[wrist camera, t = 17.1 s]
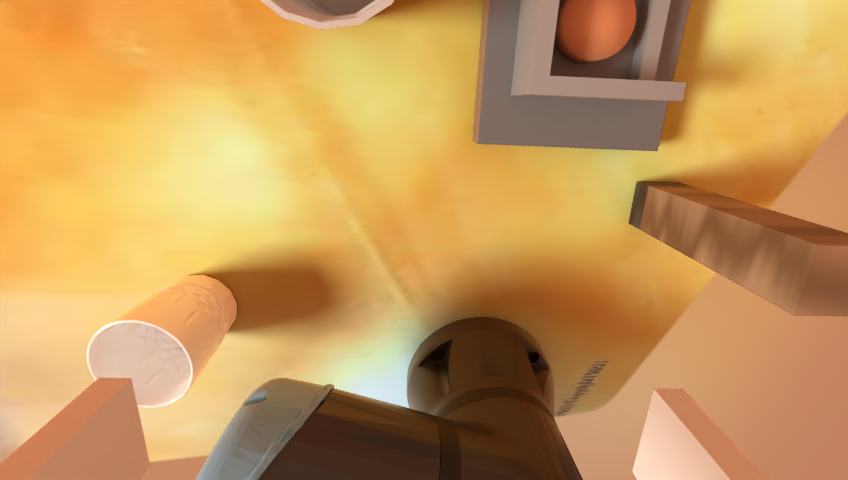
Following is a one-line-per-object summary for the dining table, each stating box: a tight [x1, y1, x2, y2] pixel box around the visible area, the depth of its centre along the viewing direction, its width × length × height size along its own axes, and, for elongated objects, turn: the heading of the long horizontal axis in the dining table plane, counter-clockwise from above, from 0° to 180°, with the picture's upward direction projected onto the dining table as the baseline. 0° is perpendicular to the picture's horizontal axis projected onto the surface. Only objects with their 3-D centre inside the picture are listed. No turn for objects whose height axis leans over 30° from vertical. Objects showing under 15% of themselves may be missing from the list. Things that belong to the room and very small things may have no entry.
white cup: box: [87, 275, 237, 408], centre depth 36 cm, size 8×8×10 cm
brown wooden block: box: [629, 182, 848, 316], centre depth 30 cm, size 4×4×18 cm
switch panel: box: [473, 0, 690, 151], centre depth 30 cm, size 18×15×8 cm
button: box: [555, 0, 636, 63], centre depth 30 cm, size 5×5×2 cm
